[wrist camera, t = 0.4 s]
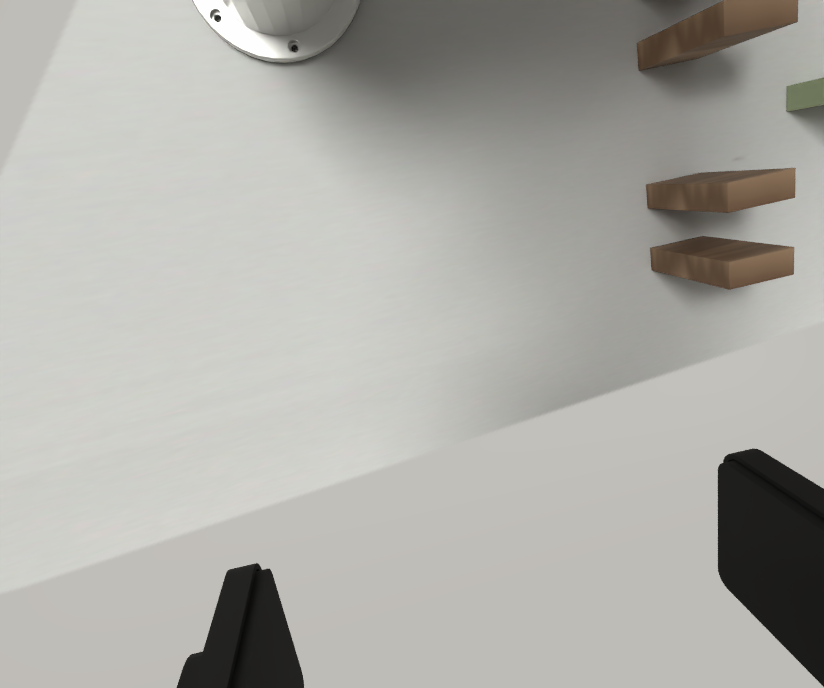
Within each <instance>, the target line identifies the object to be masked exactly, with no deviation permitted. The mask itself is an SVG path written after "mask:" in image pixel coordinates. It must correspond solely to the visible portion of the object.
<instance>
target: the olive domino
mask: <svg viewBox="0 0 824 688" xmlns="http://www.w3.org/2000/svg"><path fill="white" fill-rule="evenodd" d="M820 105H824V78H820V79H816V80H812V81H807V82H803V83H799V84H794V85H790V86H787V111H792V110H798V109H804V108H809V107H815V106H820Z"/></svg>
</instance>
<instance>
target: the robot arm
mask: <svg viewBox="0 0 824 688" xmlns="http://www.w3.org/2000/svg"><path fill="white" fill-rule="evenodd" d="M192 1H193V3H194V5H195V6H196V8H197V10H198V12H199V13H200V14H201V16H202V17H203V18H204V20H205V21H206V22H207V24H208V25H209V26H210V27H211V28H212V29H213V30H214V31H215V32H216V33H217V34H218V35H219V36H220V37H221V38H222V39H223V40H224V41H226V42H227V43H229V44H230V45H231V46H233V47H234V48H235V49H237V50H239V51H241V52H243V53H245V54H247V55H249V56H251V57H254V58H257V59H261V60H265V61H268V62H281V63H288V62H295V61H302V60H305V59H308V58H310V57H313V56H316V55H318V54H320V53H321V52H323V51H324V50H326V49H327V48H329V47H331V46H332V45H333V44H334V43H335V42H336V41H337V40H338V39H339V38H340V37H341V36H342V35H343V34H344V32H345V31H346V29H347V28H348V26H349V25H350V23H351V22H352V20H353V18H354V15H355V13H356V11H357V8H358V6H359V3H360V0H192ZM217 16H221V17H222V20H221V22H216V21H215V18H216V17H217ZM293 46H297V47H298V51H297V52H293V51H292V50H291V48H292V47H293ZM718 572H719V575H720V577H721V580H722V581H723V583H724V584H725V586H726V587H727V589H728V590H729V591H730V592H731V593H732V594H733V595H734V596H735V597H736V598H737V599H738V600H739V601H740V602H741V603H742V604H743V605H744V606H745V607H746V608H747V609H748V610H749V611H750V612H751V613H752V614H753V615H754V616H755V617H756V618H757V619H758V620H759V621H760V622H761V623H762V624H763V625H764V626H765V627H766V628H767V629H768V630H769V631H770V632H771V633H772V634H773V636H775V638H776V639H777V640H779V642H780V643H781V644H782V645H783V646H784V647H785V648H786V649H787V650H788V651H789V652H790V653H791V654H792V655H793V656H794V657H795V658H796V659H797V660H798V661H799V662H800V663H801V664H802V665H803V666H804V667H805V668H806V669H807V670H808V671H809V672H810V673H811V674H812V675H813V676H814V677H815V678H816V679H817V680H818V681H819V682H820V683H821V684H822V685H823V686H824V489H823V488H821V487H820V486H818V485H816V484H815V483H813V482H812V481H810V480H808V479H806V478H805V477H803V476H802V475H800V474H798V473H797V472H795V471H793V470H792V469H790V468H789V467H787V466H785V465H784V464H782V463H780V462H779V461H777V460H775V459H774V458H772V457H771V456H769V455H767V454H766V453H764V452H762V451H761V450H758V449H749V450H745V451H741V452H736V453H732V454H728V455H727V456H725V458H724V461H723V463H722V464H720V465H719V467H718ZM177 688H304V681H303V675H302V671H301V667H300V664H299V661H298V658H297V654H296V651H295V648H294V644H293V641H292V638H291V634H290V631H289V628H288V625H287V621H286V618H285V614H284V611H283V608H282V604H281V601H280V598H279V594H278V591H277V588H276V584H275V581H274V578H273V574H272V572H271V570H270V569H265V570H262V569H261V567H260V565H259V564H257V563H256V564H252V565H247V566H243V567H239V568H234V569H230V570H228V571H227V573H226V576H225V579H224V582H223V586H222V589H221V593H220V596H219V600H218V603H217V606H216V610H215V613H214V617H213V620H212V623H211V627H210V630H209V633H208V637H207V640H206V643H205V647H204V651H203V652H199V653H196V654H192V655H190V656H189V657H188V658H187V660H186V662H185V665H184V667H183V670H182V673H181V676H180V679H179V682H178V685H177Z"/></svg>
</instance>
